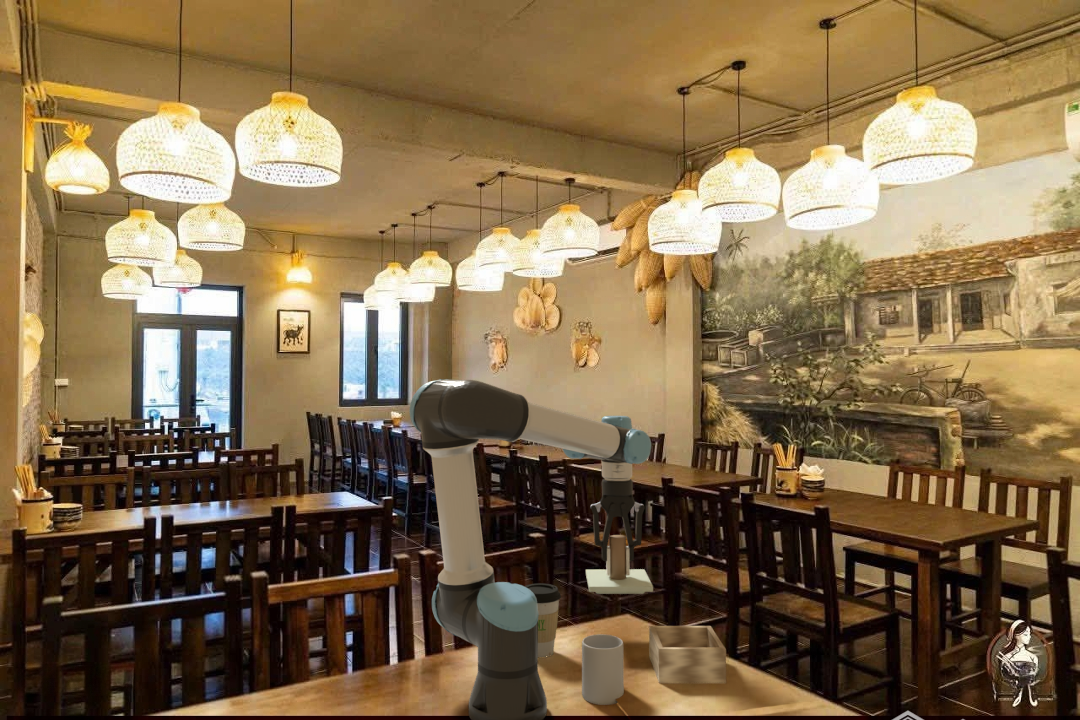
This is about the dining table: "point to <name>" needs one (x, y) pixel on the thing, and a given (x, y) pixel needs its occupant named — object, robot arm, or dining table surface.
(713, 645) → the box
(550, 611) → the coffee cup
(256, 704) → the dining table surface
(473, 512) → the robot arm
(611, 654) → the mug
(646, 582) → the lid
